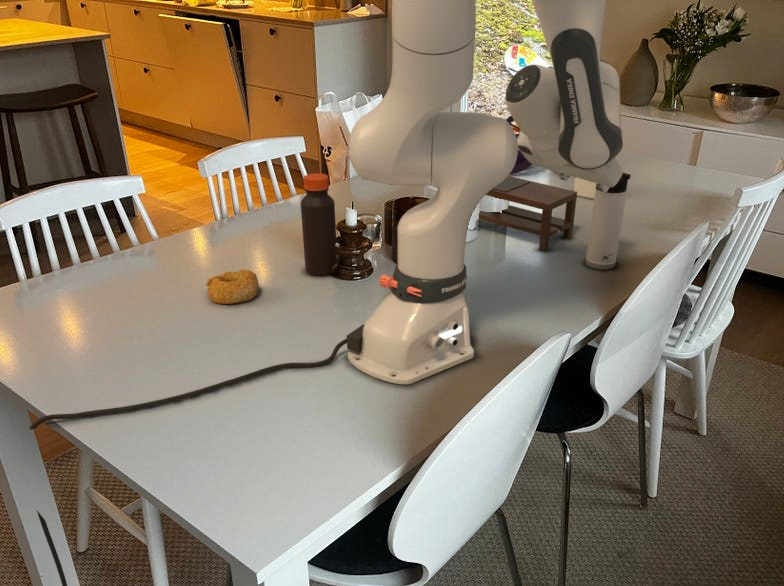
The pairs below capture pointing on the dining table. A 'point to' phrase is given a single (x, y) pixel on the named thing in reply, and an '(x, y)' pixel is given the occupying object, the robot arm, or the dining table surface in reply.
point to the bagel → (233, 287)
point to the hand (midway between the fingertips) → (585, 182)
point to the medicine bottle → (584, 188)
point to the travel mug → (606, 225)
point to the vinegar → (318, 226)
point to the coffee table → (531, 220)
